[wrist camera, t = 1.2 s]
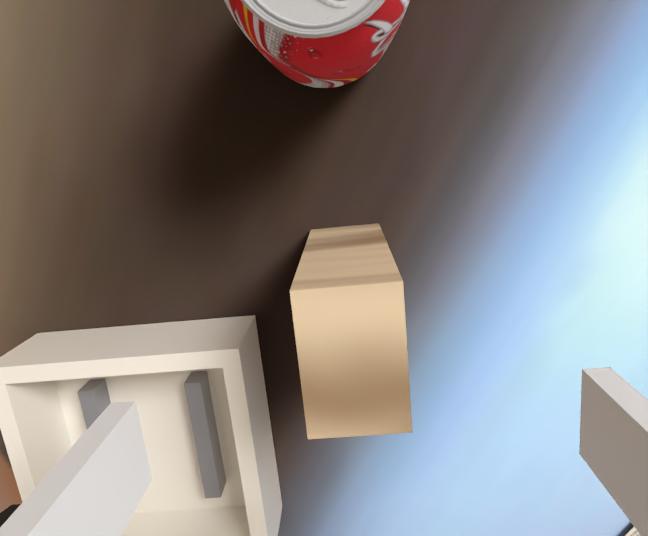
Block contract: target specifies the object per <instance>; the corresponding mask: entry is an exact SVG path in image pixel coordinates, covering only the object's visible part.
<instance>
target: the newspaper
mask: <svg viewBox="0 0 648 536" xmlns="http://www.w3.org/2000/svg"><path fill="white" fill-rule="evenodd" d="M625 536H641V535H640V533H639V532H638V531H637V529H636V528H635V527H633V528H632V529H631V530H630V531H629V532H628V533H627V534H626V535H625Z"/></svg>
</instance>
